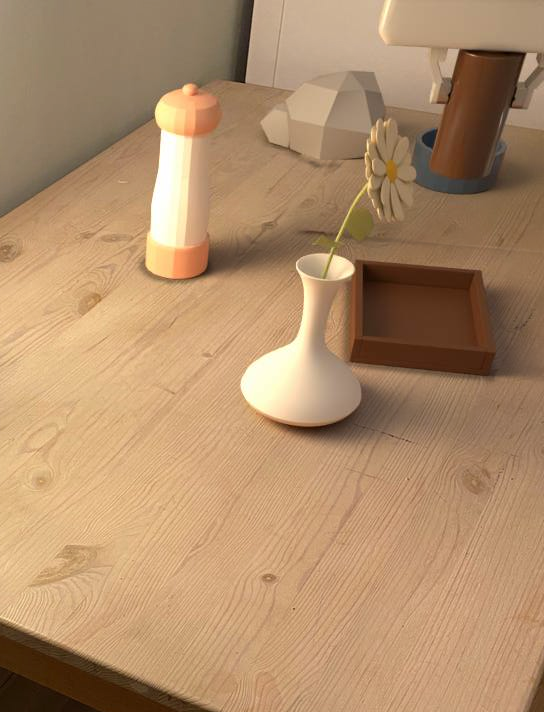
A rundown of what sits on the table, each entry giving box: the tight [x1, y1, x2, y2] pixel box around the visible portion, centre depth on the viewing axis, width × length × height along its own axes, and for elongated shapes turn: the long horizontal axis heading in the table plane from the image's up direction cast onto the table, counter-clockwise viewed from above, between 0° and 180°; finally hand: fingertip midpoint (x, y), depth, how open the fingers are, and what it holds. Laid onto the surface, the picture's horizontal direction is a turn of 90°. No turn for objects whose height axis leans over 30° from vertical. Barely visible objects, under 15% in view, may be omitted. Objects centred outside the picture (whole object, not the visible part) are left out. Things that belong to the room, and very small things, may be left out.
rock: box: [259, 70, 387, 161], centre depth 134 cm, size 18×20×10 cm
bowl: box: [410, 126, 508, 195], centre depth 125 cm, size 11×11×5 cm
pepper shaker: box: [145, 83, 223, 280], centre depth 104 cm, size 7×7×19 cm
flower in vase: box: [240, 117, 416, 427], centre depth 83 cm, size 13×11×25 cm
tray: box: [348, 259, 497, 376], centre depth 100 cm, size 14×18×3 cm
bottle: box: [429, 49, 528, 180], centre depth 85 cm, size 6×6×14 cm
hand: (478, 104), depth 85 cm, fingers closed on bottle, 5 cm apart
